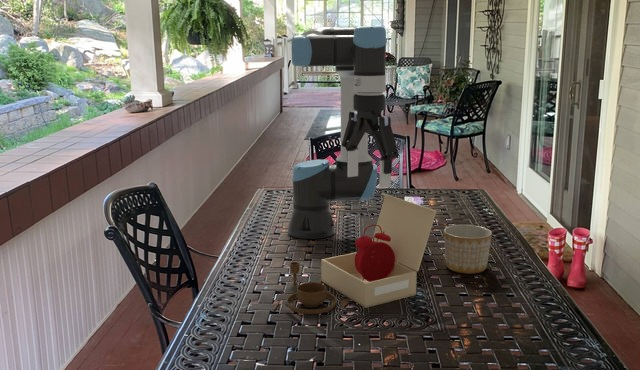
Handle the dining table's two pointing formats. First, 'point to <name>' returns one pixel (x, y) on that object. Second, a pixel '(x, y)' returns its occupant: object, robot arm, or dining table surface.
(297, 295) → the place setting
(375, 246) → the alarm clock
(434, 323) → the dining table surface
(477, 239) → the planter
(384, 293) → the box
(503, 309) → the dining table surface
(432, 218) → the lid
